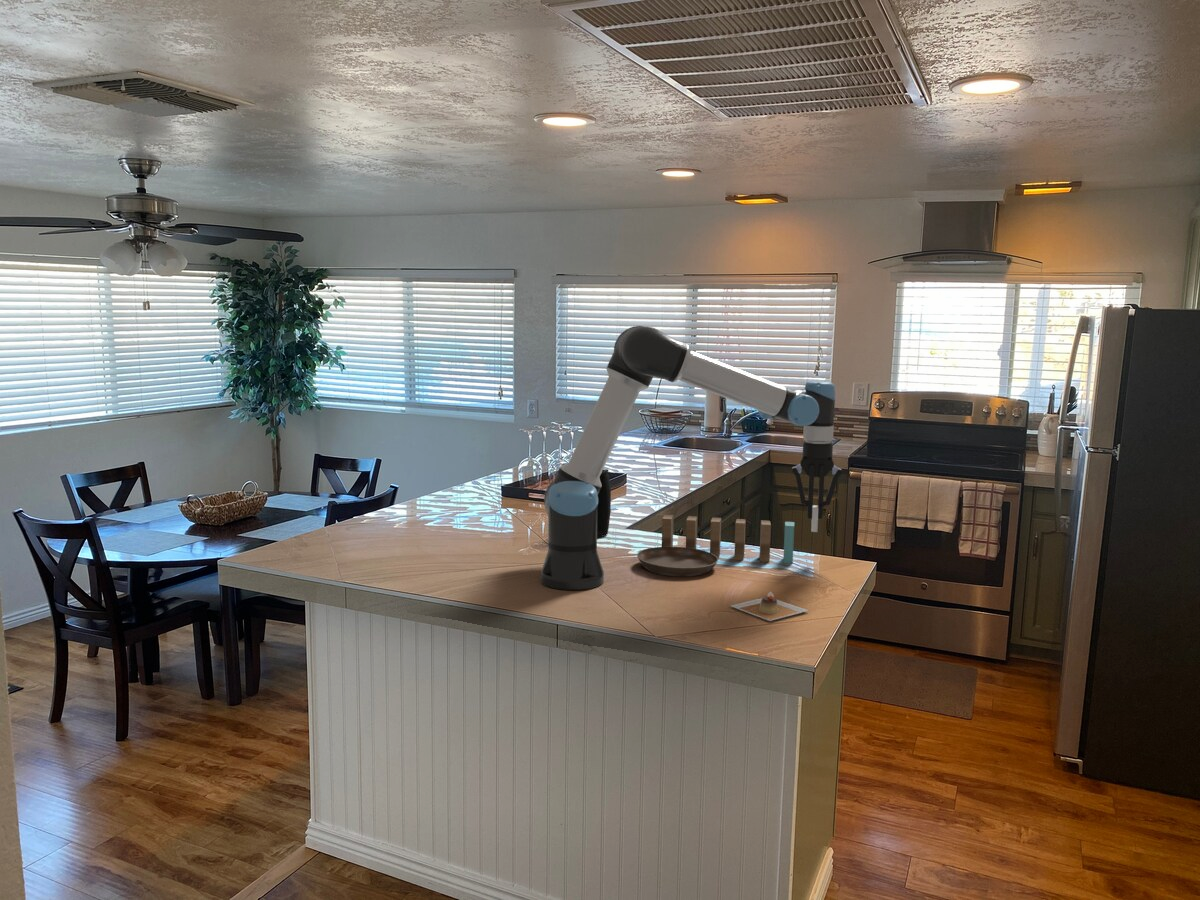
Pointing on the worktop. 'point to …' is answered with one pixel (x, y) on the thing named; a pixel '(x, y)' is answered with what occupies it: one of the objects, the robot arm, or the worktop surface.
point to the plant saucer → (677, 561)
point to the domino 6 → (788, 542)
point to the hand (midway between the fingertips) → (814, 530)
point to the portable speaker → (604, 504)
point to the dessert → (769, 606)
